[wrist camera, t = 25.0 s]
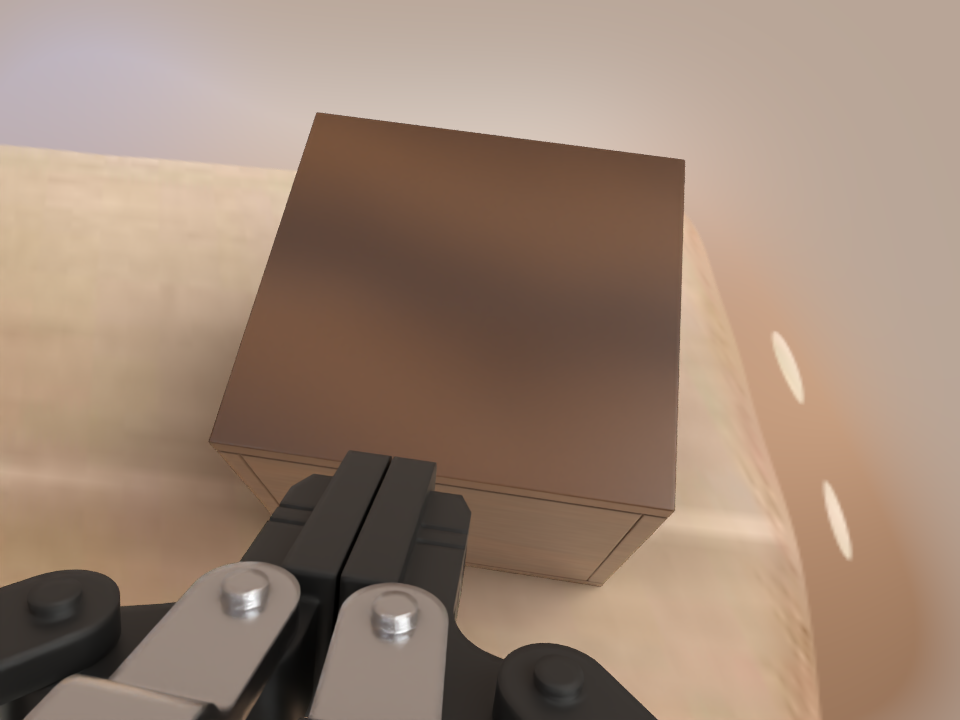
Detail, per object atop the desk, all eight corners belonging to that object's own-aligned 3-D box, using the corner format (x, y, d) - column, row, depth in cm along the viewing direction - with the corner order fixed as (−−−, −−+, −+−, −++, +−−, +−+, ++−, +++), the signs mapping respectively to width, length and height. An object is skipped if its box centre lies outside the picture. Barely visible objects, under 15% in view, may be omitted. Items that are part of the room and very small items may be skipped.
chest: (353, 301, 42) (314, 142, 31) (619, 338, 42) (679, 189, 30) (291, 539, 36) (215, 450, 25) (601, 586, 36) (668, 518, 24)
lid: (319, 125, 31) (316, 111, 31) (680, 172, 31) (685, 158, 30) (214, 450, 25) (207, 442, 24) (668, 518, 24) (675, 511, 24)
